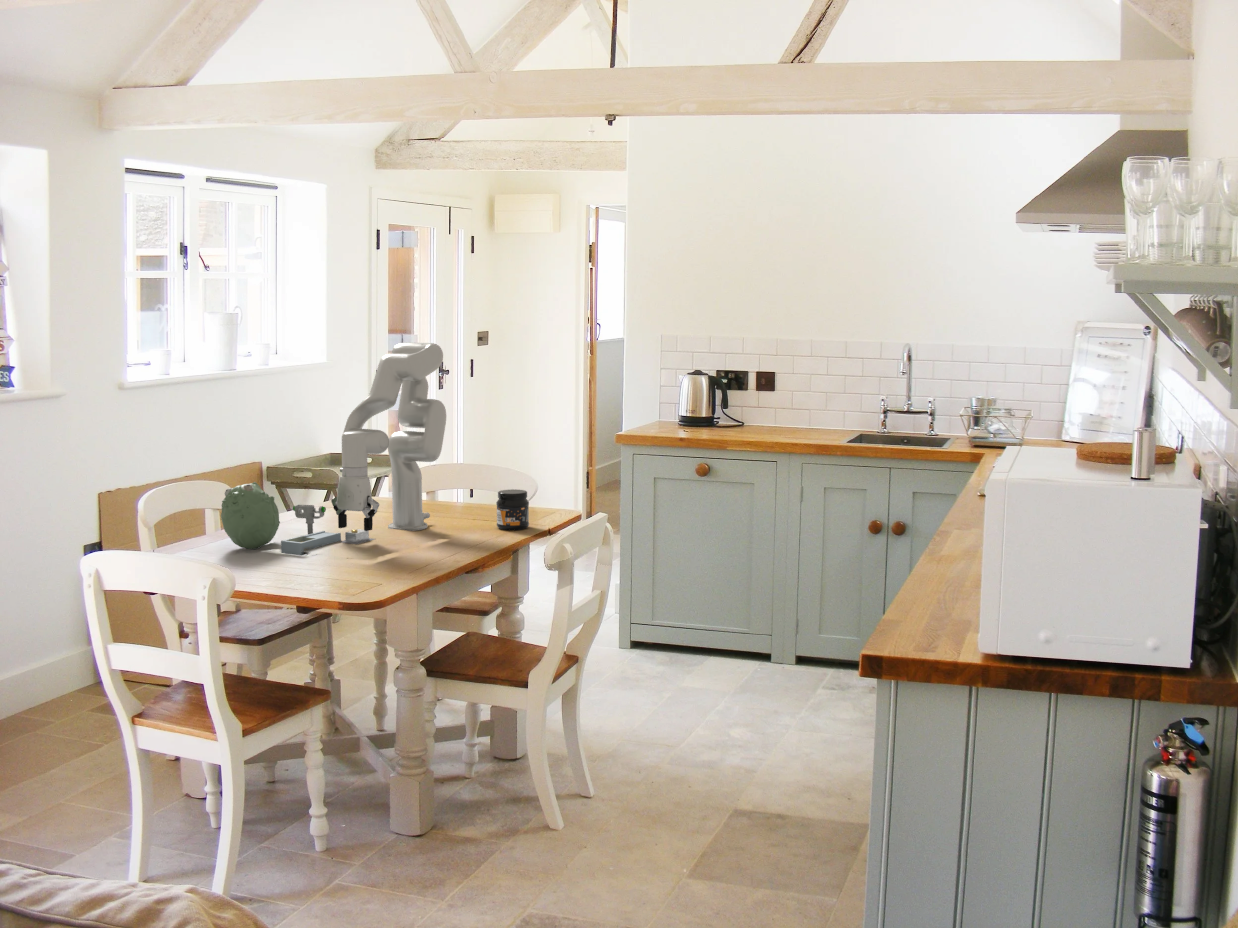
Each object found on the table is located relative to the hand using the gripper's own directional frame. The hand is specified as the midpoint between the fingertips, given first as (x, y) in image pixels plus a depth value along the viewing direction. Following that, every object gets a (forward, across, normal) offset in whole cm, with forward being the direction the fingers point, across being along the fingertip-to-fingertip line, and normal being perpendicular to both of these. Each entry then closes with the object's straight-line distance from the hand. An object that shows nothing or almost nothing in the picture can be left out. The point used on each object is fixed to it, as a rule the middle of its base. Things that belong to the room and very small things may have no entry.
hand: (355, 528), depth 361 cm
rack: (+5, -8, -10) cm, 14 cm away
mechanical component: (+5, -20, +3) cm, 21 cm away
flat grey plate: (+5, 0, +1) cm, 5 cm away
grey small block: (+4, 0, +1) cm, 4 cm away
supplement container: (+4, +28, +45) cm, 53 cm away
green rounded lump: (+6, -24, -18) cm, 31 cm away
